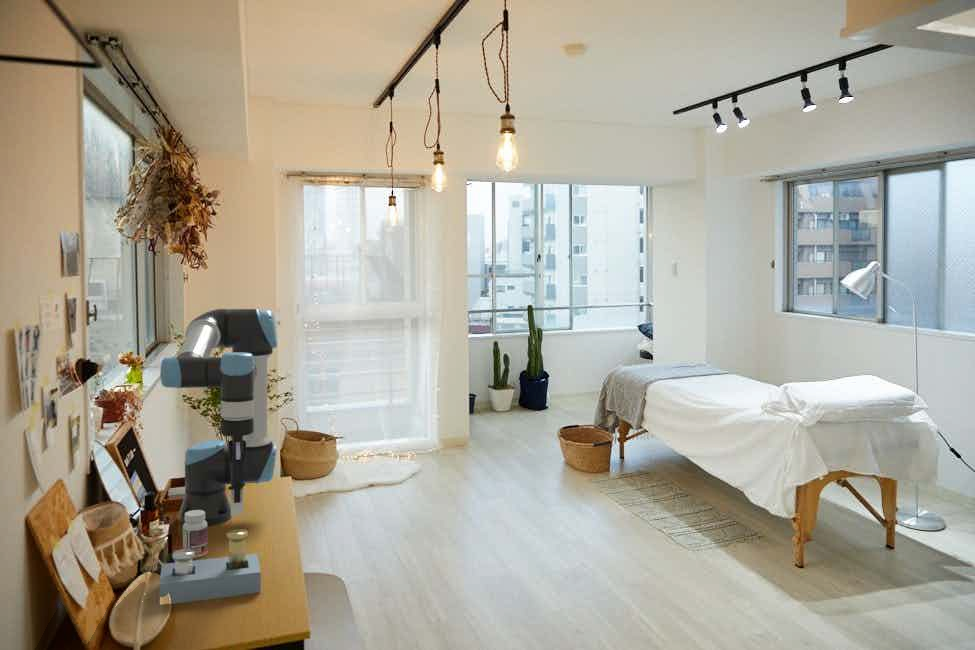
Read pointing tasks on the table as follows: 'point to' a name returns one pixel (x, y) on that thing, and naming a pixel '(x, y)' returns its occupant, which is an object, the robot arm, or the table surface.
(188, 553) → the small lidded jar
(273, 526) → the table surface
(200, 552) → the pill bottle
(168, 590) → the socket block
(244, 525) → the table surface
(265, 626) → the table surface
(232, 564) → the glass jar
